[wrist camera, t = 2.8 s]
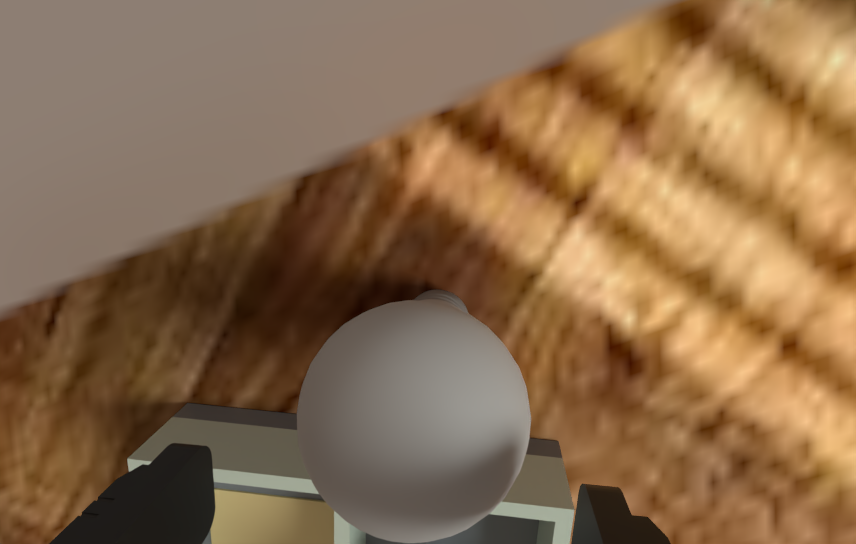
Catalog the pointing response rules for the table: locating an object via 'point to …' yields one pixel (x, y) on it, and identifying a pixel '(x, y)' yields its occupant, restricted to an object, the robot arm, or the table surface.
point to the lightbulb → (413, 420)
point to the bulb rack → (305, 508)
